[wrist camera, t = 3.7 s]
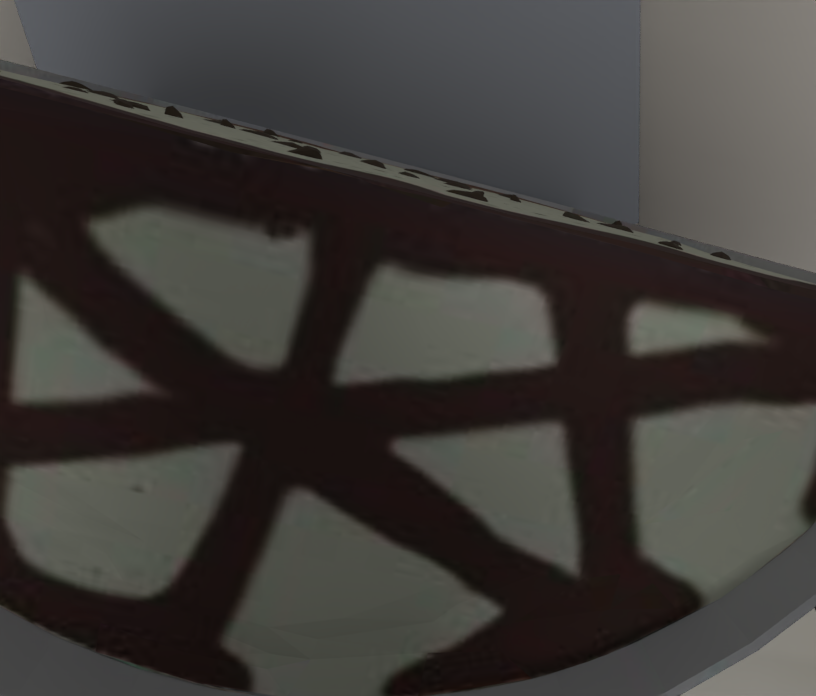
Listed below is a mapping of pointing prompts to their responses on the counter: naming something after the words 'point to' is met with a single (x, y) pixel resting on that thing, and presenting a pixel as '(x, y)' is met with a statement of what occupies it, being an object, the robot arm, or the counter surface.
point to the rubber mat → (388, 79)
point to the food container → (375, 423)
